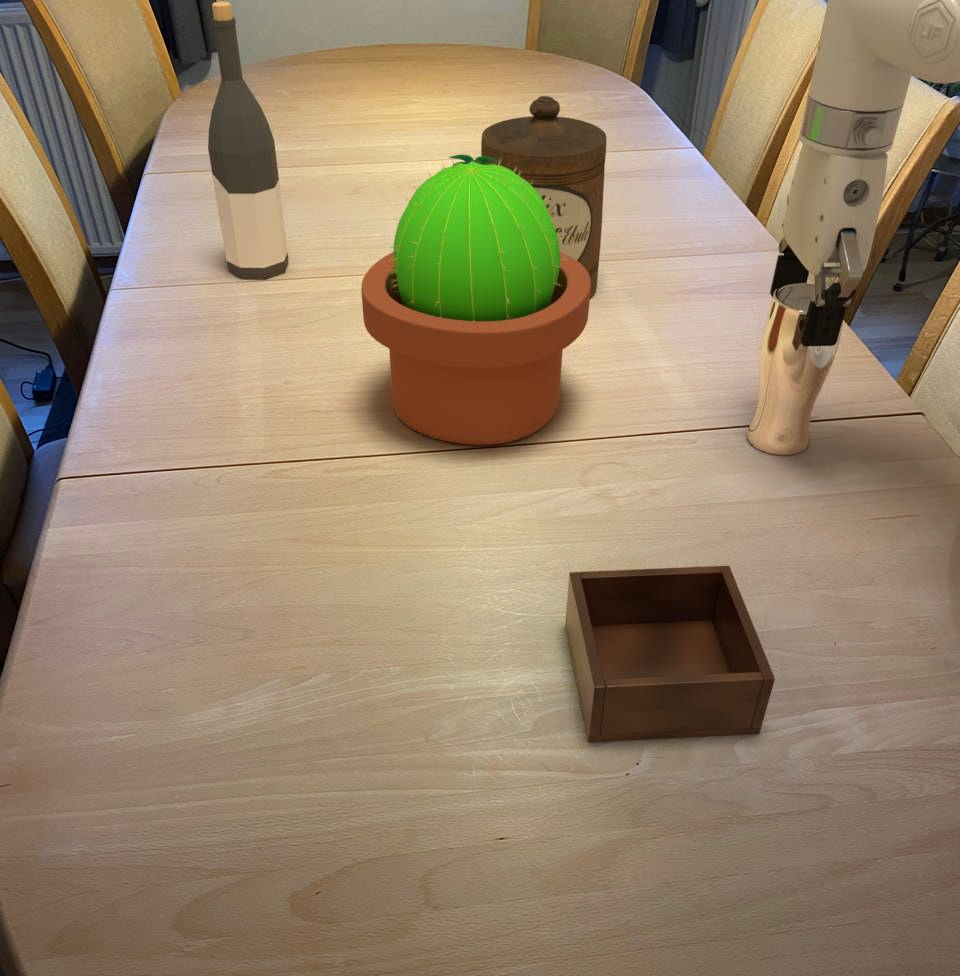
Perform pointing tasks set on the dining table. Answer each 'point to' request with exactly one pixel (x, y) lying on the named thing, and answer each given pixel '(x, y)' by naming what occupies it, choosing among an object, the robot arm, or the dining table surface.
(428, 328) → the potted cactus
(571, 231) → the wooden container
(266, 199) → the wine bottle
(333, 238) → the dining table surface
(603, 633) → the crate
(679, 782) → the dining table surface
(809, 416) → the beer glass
